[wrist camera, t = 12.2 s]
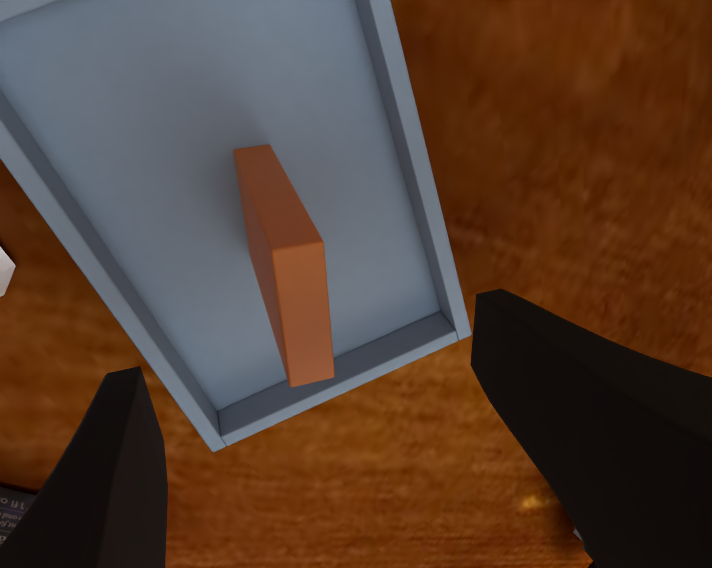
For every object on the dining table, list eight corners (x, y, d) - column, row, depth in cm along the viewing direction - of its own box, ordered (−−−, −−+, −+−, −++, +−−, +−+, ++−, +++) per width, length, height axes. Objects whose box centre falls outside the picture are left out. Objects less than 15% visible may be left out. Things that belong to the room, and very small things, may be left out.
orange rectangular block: (250, 259, 20) (290, 388, 15) (232, 148, 18) (270, 250, 13) (283, 253, 21) (335, 378, 15) (270, 143, 18) (324, 241, 13)
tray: (208, 418, 24) (212, 453, 22) (-70, 15, 15) (-97, 26, 13) (451, 308, 25) (472, 335, 23) (334, -139, 16) (355, -146, 14)
